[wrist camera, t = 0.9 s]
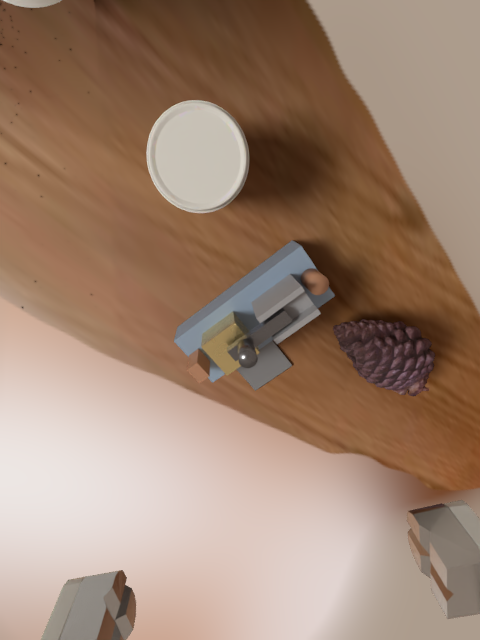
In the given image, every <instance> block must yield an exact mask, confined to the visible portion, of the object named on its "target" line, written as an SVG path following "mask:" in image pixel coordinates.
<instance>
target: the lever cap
mask: <svg viewBox="0 0 480 640" xmlns="http://www.w3.org/2000/svg"><path fill="white" fill-rule="evenodd" d="M247 332H249V330H248V329H247V328H246V327H245V325H244V324H243V323H242V322H241V320H240V319H239V318H238V317H237V316H236V314H235V313H234V312H231V313H230V314H228V315H227V316H226V317H224V318H223V319H222V320H220V321H219V322H218V323H216V324H215V325H214V326H212V327H211V328H210V329H208V330H207V331H206V332H204V333H203V334H202V343H201V347H202V349H203V350H204V351H205V352H206V353H207V354H208V355H209V356H210V357H211V359H212V360H213V361H214V362H215V363H216V364H217V365H218V366H219V367H220V369H221V370H222V371H223V372H224V373H225V374H226V375H229V374H230V373H232V372H233V371H235V370H236V369H237V368H239V367H240V366H241V365H240V364H239V360H237V361H235V360H234V359H233V358H232V357H231V356H230V354H229V353H228V352H227V347H228V346H229V345H231V344H232V343H234V342H235V341H236V340H238V339H239V338H240V337H242V336H243V335H245V334H246V333H247ZM255 350H256V354H259V353H260V352H259V348H258V346H257V347H256V348H255Z"/></svg>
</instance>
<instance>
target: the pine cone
mask: <svg viewBox="0 0 480 640" xmlns="http://www.w3.org/2000/svg"><path fill="white" fill-rule="evenodd" d="M333 330H334V334H335V335H336V336H337V337H336V338H337V339H338V341H339V345H340V346H341V348H340V349H341V350H342V351H344V352H346V353H347V356H348V357H349V358H350V359H351V360H352V361H353V367H355V369H356V370H357V371H358V374H359V375H360V376H361V377H364V378H365V379H366V380H367V382H369V383H375V385H376V386H377V387H381V388H382V387H384V388H386V389H388V390H393V391H395V392H397V393H399V394H401V395H405V394H406V392H407V390H409V391H408V394H409V395H410V396H416V395H417V394H419V393H420V392H421V391H428V390H429V388H426V387H425V384H426V383H427V379H428V378H429V373H430V372H431V371H432V370H433V367H434V364H433V361H434V359H435V358H434V357H435V353H434V352H433V351H431V350H430V349H429V348H430V346H431V345H432V344H431V343H432V342H431V341H429V339H426V338H422V337H421V332H420V330H419V329H418V328H417V327H415V326H411V327H410V326H409V327H407V326H406V324H404V323H403V322H401V321H398V322H395V323H391V322H390V323H388V322H384V321H382V320H378V321H374V320H369V321H368V320H364V319H363V320H361V321H359V322H357V321H351V322H345V323H341V325H335V326H334V327H333Z"/></svg>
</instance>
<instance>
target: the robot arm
mask: <svg viewBox="0 0 480 640" xmlns="http://www.w3.org/2000/svg"><path fill="white" fill-rule="evenodd" d="M3 1H5V2H8V3H11V4H13V5H17V6H22V7H29V8H38V7H45V6H50V5H53V4H55V3H58V2H60V1H62V0H3ZM407 522H408V523H409V525H410V527H411V529H410V530H409V531H408V540H409V545H410V548H411V551H412V554H413V556H414V559H415V561H416V563H417V565H418V567H419V569H420V570H421V572H422V573H424V574H425V575H426V576H428V577H429V578H431V590H432V592H433V594H434V596H435V598H436V600H437V601H438V603H439V605H440V607H441V609H442V610H443V612H444V614H445V616H446V618H447V619H451V618H457V617H464V616H470V615H476V614H480V519H479V517H478V516H477V515H476V514H475V513H474V511H473V510H472V509H471V508H470V506H469V505H468V504H467V503H465V502H464V501H463V500H459V501H455V502H450V503H446V504H437V505H433V506H429V507H424V508H420V509H415V510H411V511H408V512H407ZM126 579H127V577H126V576H125V574H124V572H123V570H121V571H115V572H109V573H104V574H98V575H93V576H86V577H82V578H77V579H71V580H68V581H67V582H66V584H65V585H64V586H63V588H62V590H61V593H60V595H59V597H58V600H57V602H56V604H55V607H54V609H53V611H52V614H51V616H50V619H49V621H48V624H47V626H46V628H45V631H44V633H43V635H42V638H41V640H126V639H127V638H128V636H129V635H130V634H131V632H132V630H133V628H134V622H135V617H136V600H135V595H134V593H133V590H132V588H130V587H128V586H126V585H125V583H126Z"/></svg>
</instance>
